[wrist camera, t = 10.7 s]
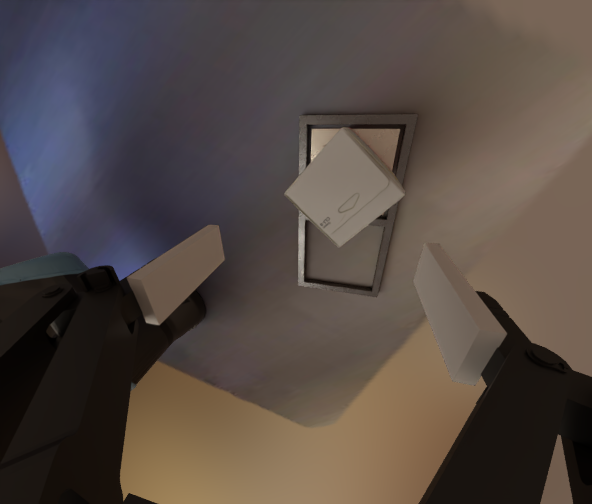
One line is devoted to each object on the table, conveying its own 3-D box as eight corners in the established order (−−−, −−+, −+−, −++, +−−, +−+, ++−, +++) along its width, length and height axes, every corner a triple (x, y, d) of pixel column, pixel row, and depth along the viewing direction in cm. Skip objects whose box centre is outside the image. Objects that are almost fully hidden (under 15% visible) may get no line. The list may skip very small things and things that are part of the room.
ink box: (348, 124, 29) (343, 121, 18) (393, 172, 30) (411, 194, 20) (304, 175, 33) (280, 195, 23) (345, 215, 34) (339, 251, 24)
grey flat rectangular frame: (299, 282, 43) (298, 285, 42) (301, 115, 30) (299, 115, 29) (376, 293, 40) (377, 297, 39) (416, 114, 27) (418, 114, 26)
